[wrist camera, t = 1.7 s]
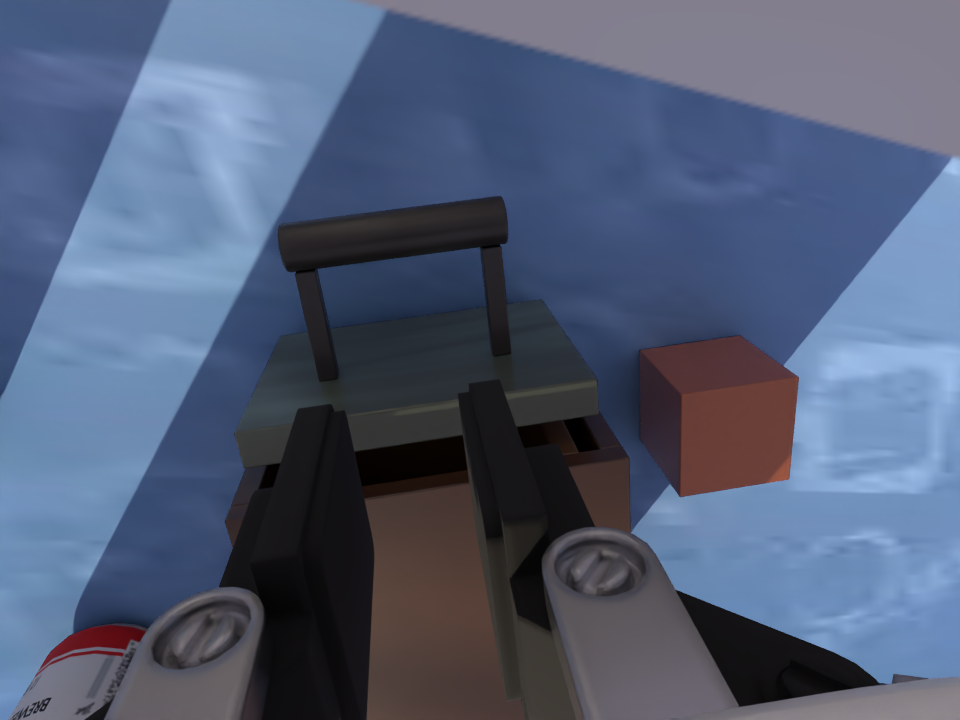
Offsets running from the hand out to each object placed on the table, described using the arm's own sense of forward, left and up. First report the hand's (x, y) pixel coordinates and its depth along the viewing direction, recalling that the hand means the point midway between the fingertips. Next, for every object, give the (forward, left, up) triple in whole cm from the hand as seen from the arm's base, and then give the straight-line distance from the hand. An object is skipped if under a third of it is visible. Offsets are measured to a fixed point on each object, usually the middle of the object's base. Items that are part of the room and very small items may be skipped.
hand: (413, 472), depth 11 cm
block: (+7, +12, -15) cm, 20 cm away
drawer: (+6, 0, -14) cm, 16 cm away
